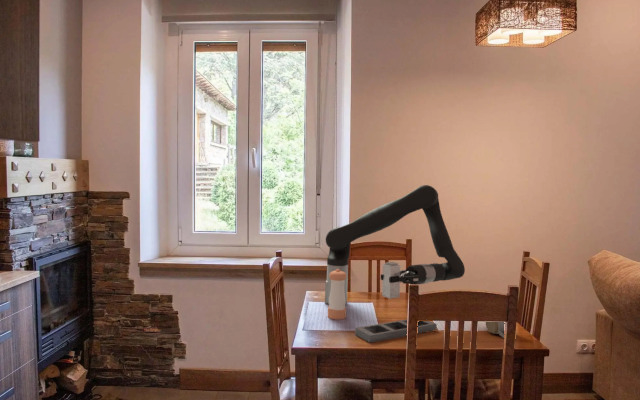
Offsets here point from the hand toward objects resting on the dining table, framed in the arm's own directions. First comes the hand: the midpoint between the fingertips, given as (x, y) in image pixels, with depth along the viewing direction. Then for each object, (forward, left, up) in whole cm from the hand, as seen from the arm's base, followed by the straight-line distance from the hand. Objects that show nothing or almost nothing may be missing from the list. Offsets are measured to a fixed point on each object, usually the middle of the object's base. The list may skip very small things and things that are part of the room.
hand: (385, 278), depth 176 cm
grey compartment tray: (+5, -2, -19) cm, 20 cm away
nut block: (+2, +2, -7) cm, 8 cm away
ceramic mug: (+42, +9, -19) cm, 47 cm away
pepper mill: (-20, +9, -19) cm, 29 cm away
